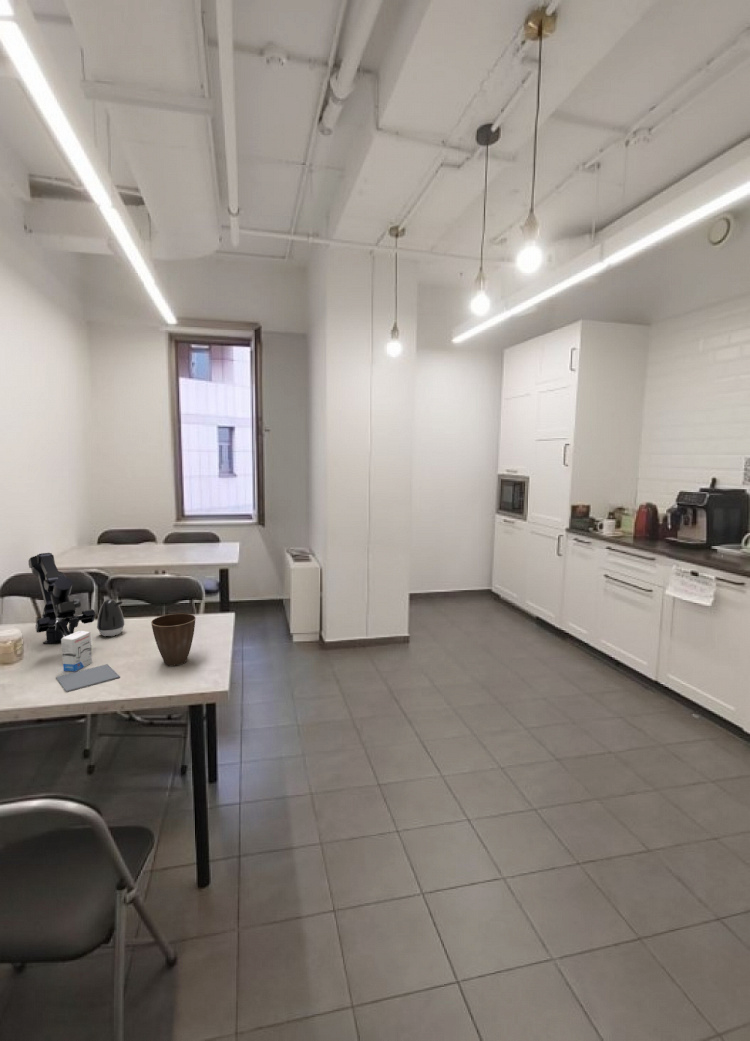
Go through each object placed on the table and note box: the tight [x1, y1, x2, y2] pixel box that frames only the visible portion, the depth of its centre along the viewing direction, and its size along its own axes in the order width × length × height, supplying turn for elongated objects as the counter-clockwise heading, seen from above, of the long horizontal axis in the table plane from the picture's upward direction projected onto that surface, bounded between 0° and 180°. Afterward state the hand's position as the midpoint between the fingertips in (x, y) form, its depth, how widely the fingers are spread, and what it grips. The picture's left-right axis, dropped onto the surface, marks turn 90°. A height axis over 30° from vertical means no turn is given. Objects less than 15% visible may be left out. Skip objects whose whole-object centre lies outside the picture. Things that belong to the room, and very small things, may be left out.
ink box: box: [60, 630, 93, 672], centre depth 182 cm, size 9×5×12 cm, turn 168°
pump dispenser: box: [96, 598, 125, 637], centre depth 214 cm, size 10×10×15 cm
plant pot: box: [151, 613, 197, 667], centre depth 186 cm, size 15×15×16 cm
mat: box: [55, 663, 121, 693], centre depth 173 cm, size 14×16×1 cm
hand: (71, 640), depth 187 cm, fingers closed
